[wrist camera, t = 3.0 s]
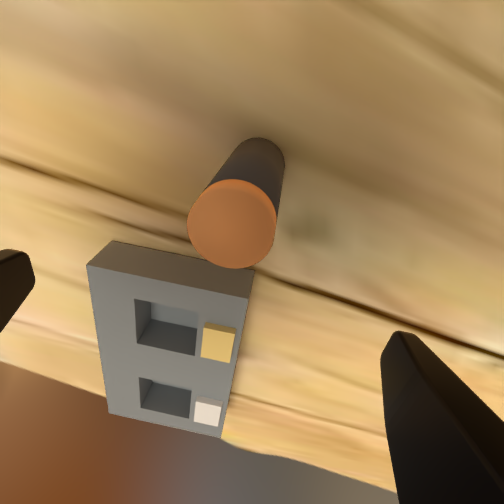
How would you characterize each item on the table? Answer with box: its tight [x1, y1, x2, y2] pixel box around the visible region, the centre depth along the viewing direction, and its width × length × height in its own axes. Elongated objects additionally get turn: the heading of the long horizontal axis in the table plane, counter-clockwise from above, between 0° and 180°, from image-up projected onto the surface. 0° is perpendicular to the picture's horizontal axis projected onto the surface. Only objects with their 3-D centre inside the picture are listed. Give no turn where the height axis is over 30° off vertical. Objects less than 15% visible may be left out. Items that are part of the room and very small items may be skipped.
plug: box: [187, 138, 285, 269], centre depth 14 cm, size 3×3×8 cm
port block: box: [86, 241, 255, 438], centre depth 24 cm, size 10×16×4 cm, turn 171°
